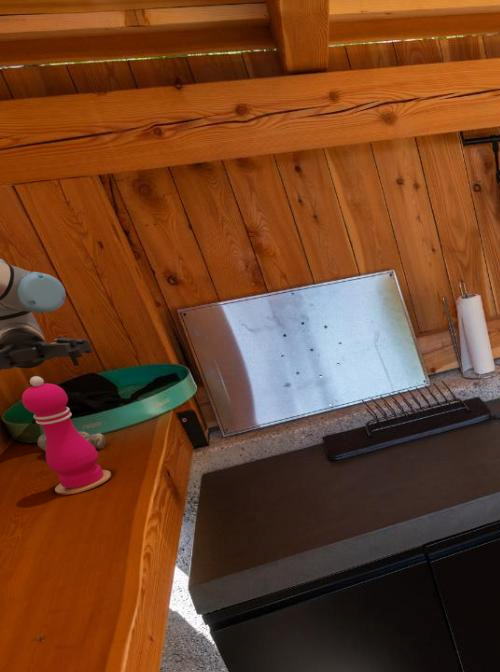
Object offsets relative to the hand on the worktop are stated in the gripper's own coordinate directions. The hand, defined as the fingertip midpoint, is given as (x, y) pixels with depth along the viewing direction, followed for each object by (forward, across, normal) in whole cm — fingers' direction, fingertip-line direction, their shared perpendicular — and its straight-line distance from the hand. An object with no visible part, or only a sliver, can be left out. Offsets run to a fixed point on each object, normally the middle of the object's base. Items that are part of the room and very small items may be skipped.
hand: (28, 369), depth 137 cm
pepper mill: (+12, 0, -19) cm, 22 cm away
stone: (-7, 0, -19) cm, 20 cm away
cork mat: (+12, 0, -19) cm, 22 cm away
